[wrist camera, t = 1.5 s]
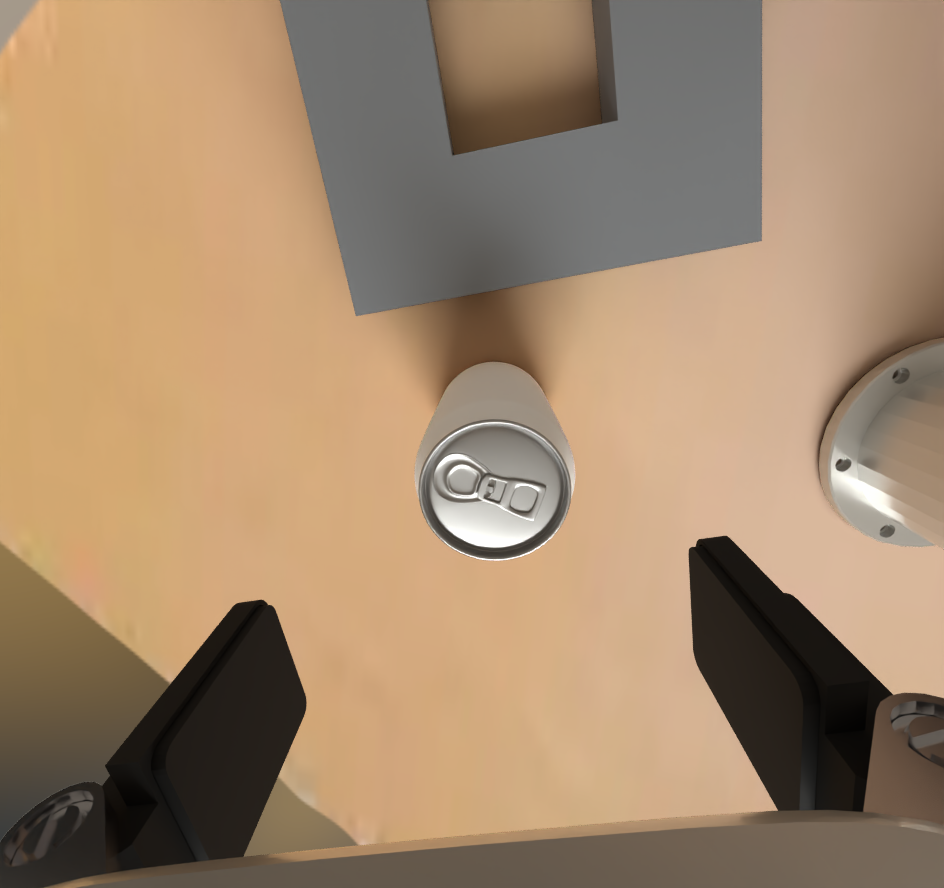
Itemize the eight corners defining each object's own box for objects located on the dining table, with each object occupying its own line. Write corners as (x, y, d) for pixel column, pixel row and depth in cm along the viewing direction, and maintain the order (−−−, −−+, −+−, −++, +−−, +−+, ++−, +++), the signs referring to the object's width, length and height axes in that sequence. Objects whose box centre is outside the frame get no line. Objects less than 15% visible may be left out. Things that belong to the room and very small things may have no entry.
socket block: (723, -269, 20) (762, -363, 17) (731, 246, 26) (761, 240, 23) (265, -141, 22) (230, -206, 19) (370, 313, 27) (356, 316, 25)
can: (457, 345, 28) (433, 383, 16) (563, 379, 28) (611, 439, 17) (427, 446, 30) (387, 543, 18) (526, 476, 30) (547, 590, 19)
